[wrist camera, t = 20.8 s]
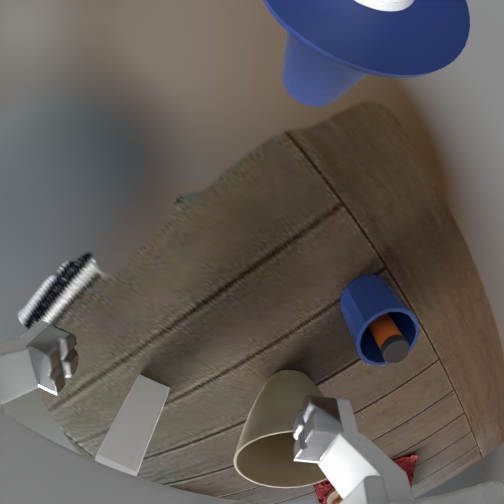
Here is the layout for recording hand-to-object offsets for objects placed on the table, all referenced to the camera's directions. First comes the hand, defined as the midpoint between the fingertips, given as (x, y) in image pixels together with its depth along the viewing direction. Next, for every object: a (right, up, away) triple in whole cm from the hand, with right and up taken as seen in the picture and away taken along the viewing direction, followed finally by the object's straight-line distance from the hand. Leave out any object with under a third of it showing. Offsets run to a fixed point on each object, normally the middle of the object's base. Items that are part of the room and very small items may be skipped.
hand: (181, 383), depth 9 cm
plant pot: (+8, -17, +38) cm, 43 cm away
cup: (+19, -3, +32) cm, 37 cm away
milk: (-16, -20, +40) cm, 48 cm away
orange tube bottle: (+19, -3, +32) cm, 37 cm away
